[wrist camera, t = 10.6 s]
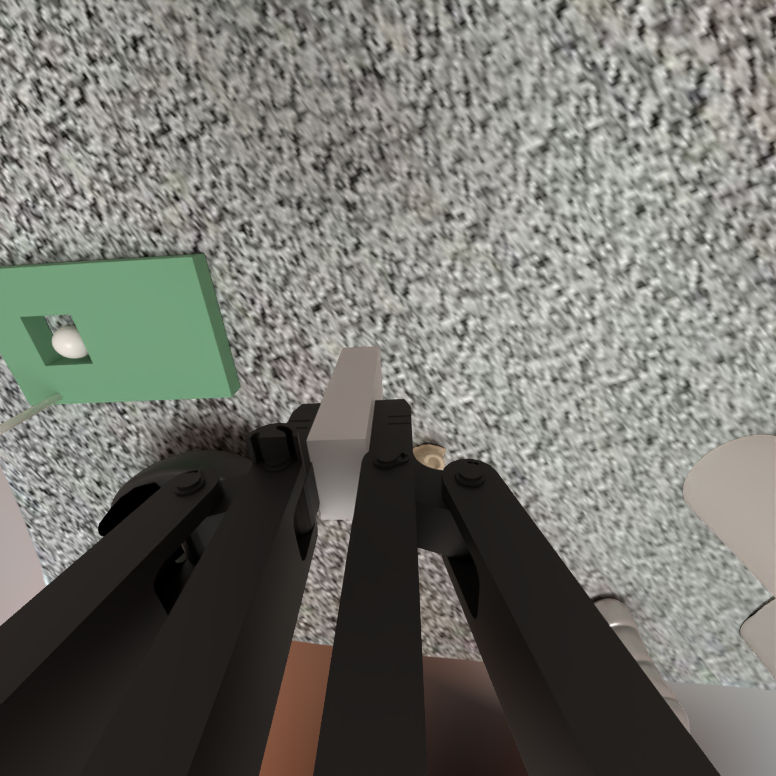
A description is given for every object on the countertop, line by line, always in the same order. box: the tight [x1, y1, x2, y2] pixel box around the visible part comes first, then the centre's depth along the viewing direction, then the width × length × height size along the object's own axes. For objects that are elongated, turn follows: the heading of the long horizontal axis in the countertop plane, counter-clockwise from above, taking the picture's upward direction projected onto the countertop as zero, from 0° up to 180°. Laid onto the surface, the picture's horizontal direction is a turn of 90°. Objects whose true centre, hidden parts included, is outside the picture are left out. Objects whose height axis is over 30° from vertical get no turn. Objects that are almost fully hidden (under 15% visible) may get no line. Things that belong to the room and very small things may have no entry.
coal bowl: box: [98, 450, 253, 561], centre depth 42 cm, size 20×20×19 cm
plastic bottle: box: [594, 598, 690, 733], centre depth 51 cm, size 6×7×20 cm
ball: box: [52, 326, 89, 359], centre depth 40 cm, size 4×4×4 cm
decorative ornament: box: [413, 444, 446, 470], centre depth 45 cm, size 4×8×5 cm, turn 147°
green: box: [0, 254, 240, 435], centre depth 34 cm, size 15×24×16 cm, turn 93°
